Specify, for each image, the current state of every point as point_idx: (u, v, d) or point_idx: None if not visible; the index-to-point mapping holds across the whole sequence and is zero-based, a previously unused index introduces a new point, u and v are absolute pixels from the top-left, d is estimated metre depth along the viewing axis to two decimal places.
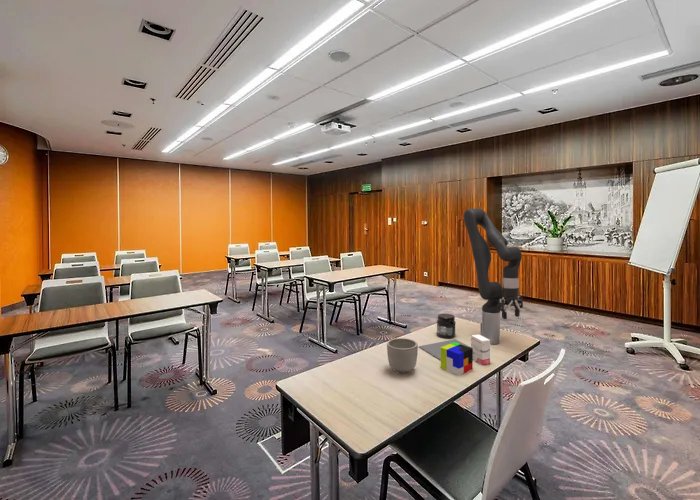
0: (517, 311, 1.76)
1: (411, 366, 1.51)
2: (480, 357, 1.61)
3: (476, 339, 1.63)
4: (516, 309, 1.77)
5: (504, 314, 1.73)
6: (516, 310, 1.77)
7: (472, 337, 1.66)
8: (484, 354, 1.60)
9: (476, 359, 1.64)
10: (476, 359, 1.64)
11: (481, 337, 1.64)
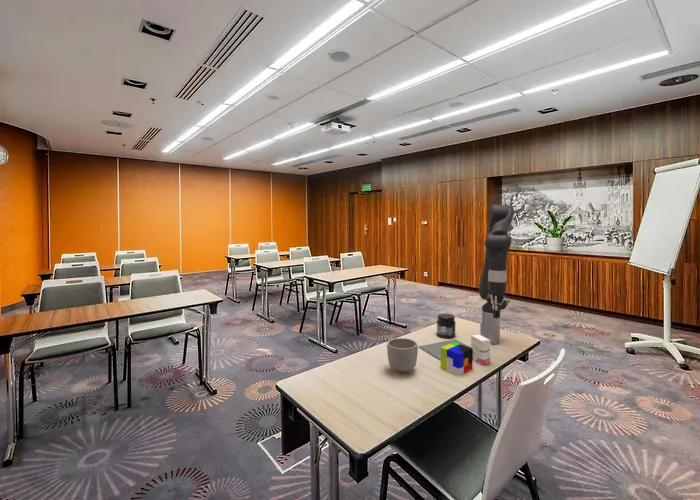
0: None
1: (411, 366, 1.51)
2: (480, 357, 1.61)
3: (476, 339, 1.63)
4: None
5: (499, 312, 1.53)
6: None
7: (472, 337, 1.66)
8: (484, 354, 1.60)
9: (476, 359, 1.64)
10: (476, 359, 1.64)
11: (481, 337, 1.64)
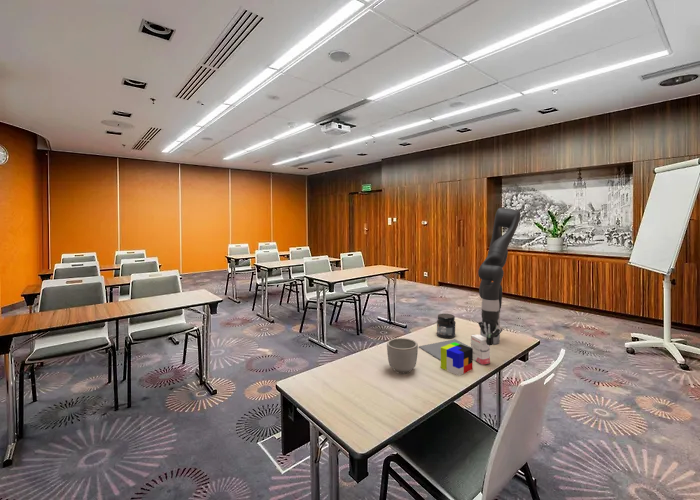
0: None
1: (411, 366, 1.51)
2: (480, 357, 1.61)
3: (476, 339, 1.63)
4: None
5: (492, 340, 1.58)
6: None
7: (472, 337, 1.66)
8: (484, 354, 1.60)
9: (476, 359, 1.64)
10: (476, 359, 1.64)
11: (481, 337, 1.64)
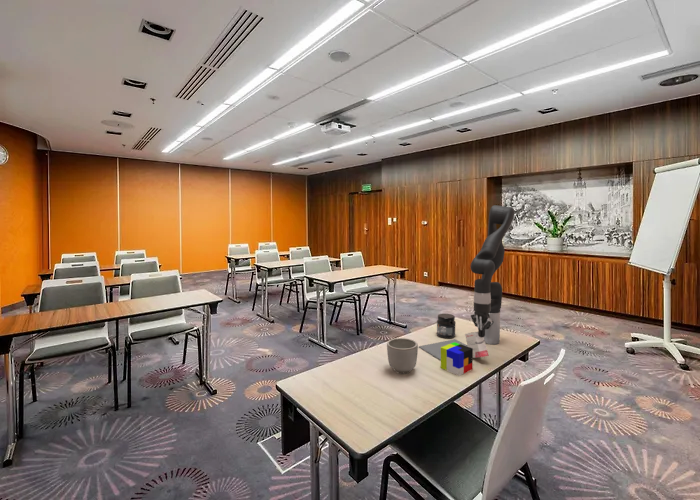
0: None
1: (411, 366, 1.51)
2: (477, 350, 1.63)
3: (469, 334, 1.68)
4: None
5: None
6: None
7: (466, 335, 1.70)
8: (480, 345, 1.62)
9: (475, 355, 1.65)
10: (475, 355, 1.65)
11: None
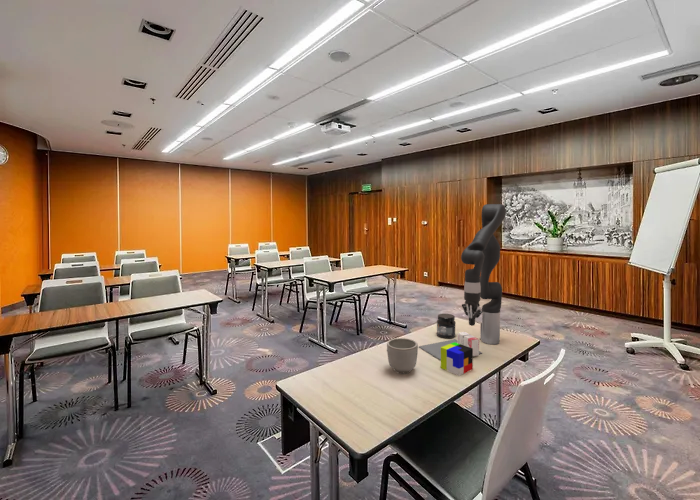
0: None
1: (411, 366, 1.51)
2: (467, 339, 1.71)
3: (458, 340, 1.78)
4: None
5: (474, 320, 1.68)
6: None
7: None
8: (467, 336, 1.73)
9: None
10: (469, 346, 1.69)
11: None
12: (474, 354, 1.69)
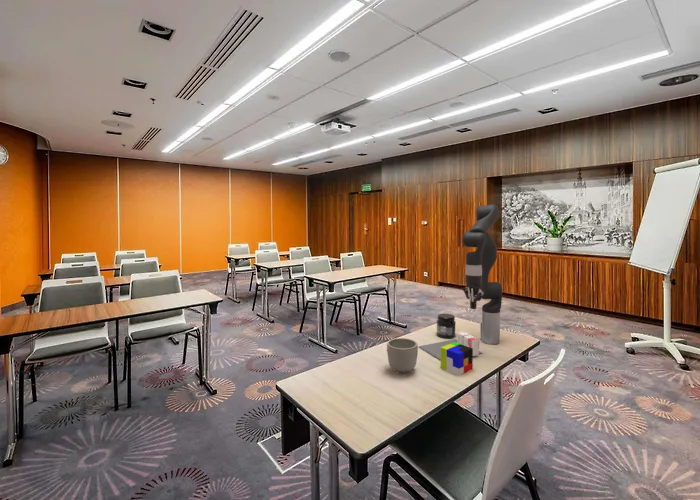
0: None
1: (411, 366, 1.51)
2: (466, 339, 1.71)
3: (458, 340, 1.78)
4: None
5: (475, 304, 1.66)
6: None
7: None
8: (467, 336, 1.73)
9: None
10: (469, 346, 1.69)
11: None
12: (474, 354, 1.69)
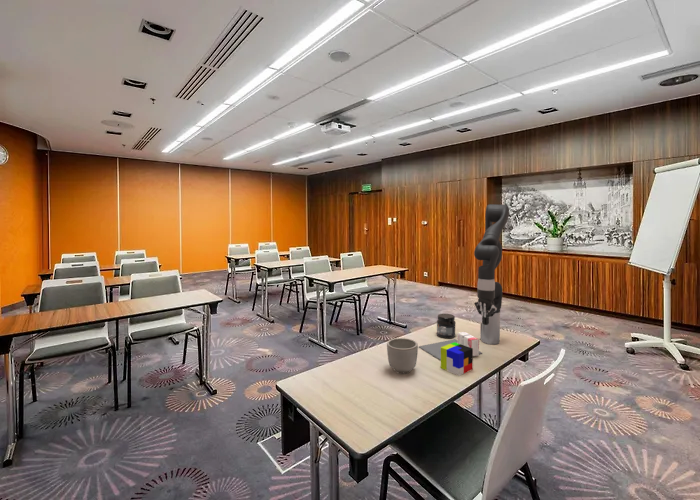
0: None
1: (411, 366, 1.51)
2: (466, 339, 1.71)
3: (458, 340, 1.78)
4: None
5: None
6: None
7: None
8: (467, 336, 1.73)
9: None
10: (469, 346, 1.69)
11: None
12: (474, 354, 1.69)
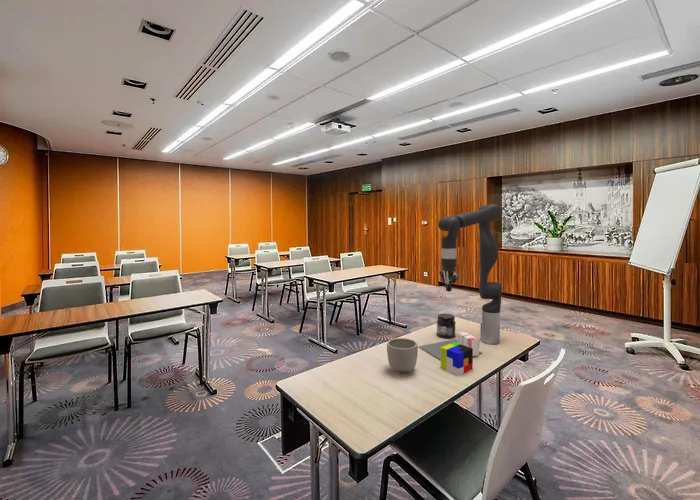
0: None
1: (411, 366, 1.51)
2: (466, 339, 1.71)
3: (458, 340, 1.78)
4: None
5: None
6: None
7: None
8: (467, 336, 1.73)
9: None
10: (469, 346, 1.69)
11: None
12: (474, 354, 1.69)
